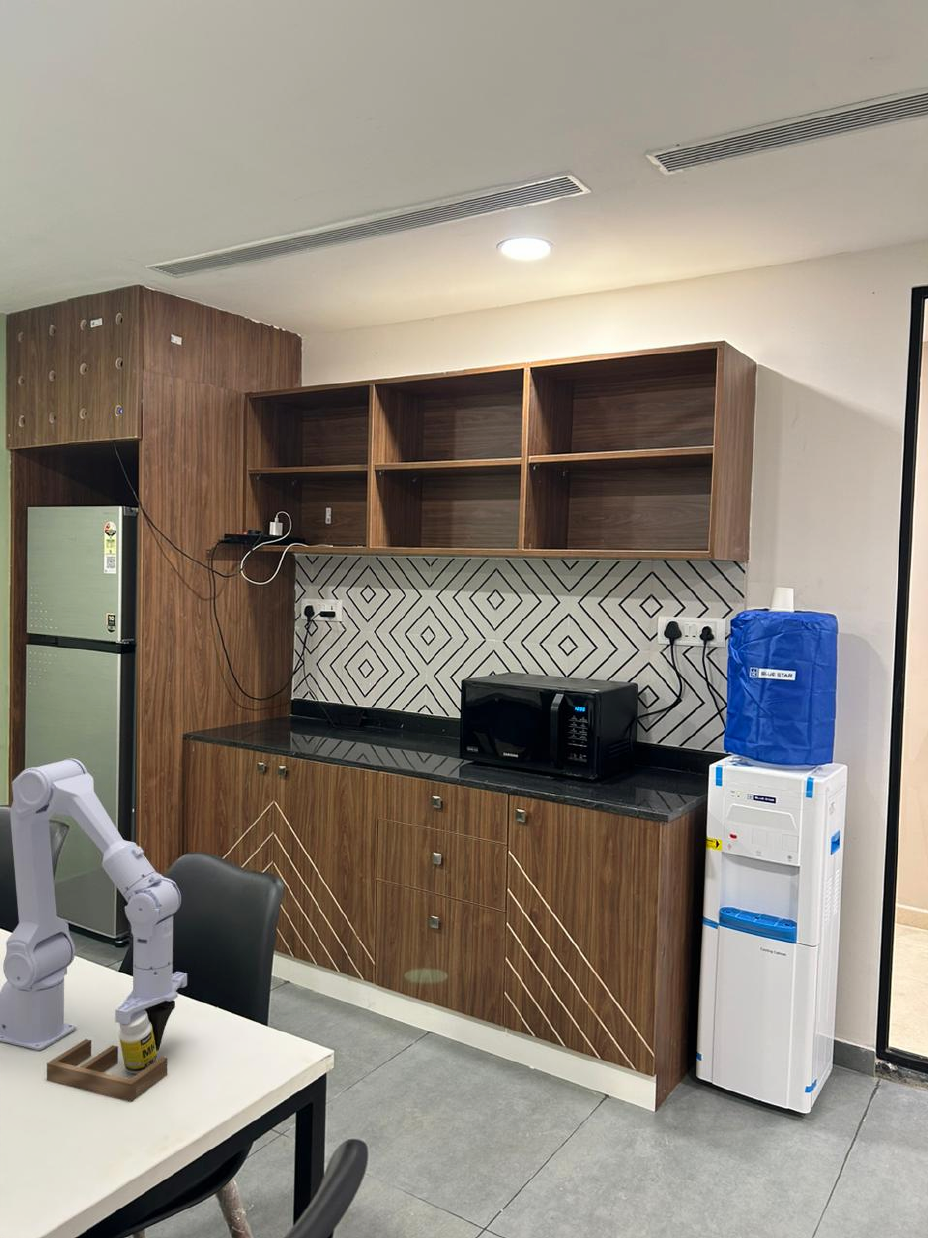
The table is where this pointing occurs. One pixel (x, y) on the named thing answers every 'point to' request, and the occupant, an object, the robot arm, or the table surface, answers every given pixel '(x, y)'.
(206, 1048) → the table surface
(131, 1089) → the frame
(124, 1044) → the supplement bottle
